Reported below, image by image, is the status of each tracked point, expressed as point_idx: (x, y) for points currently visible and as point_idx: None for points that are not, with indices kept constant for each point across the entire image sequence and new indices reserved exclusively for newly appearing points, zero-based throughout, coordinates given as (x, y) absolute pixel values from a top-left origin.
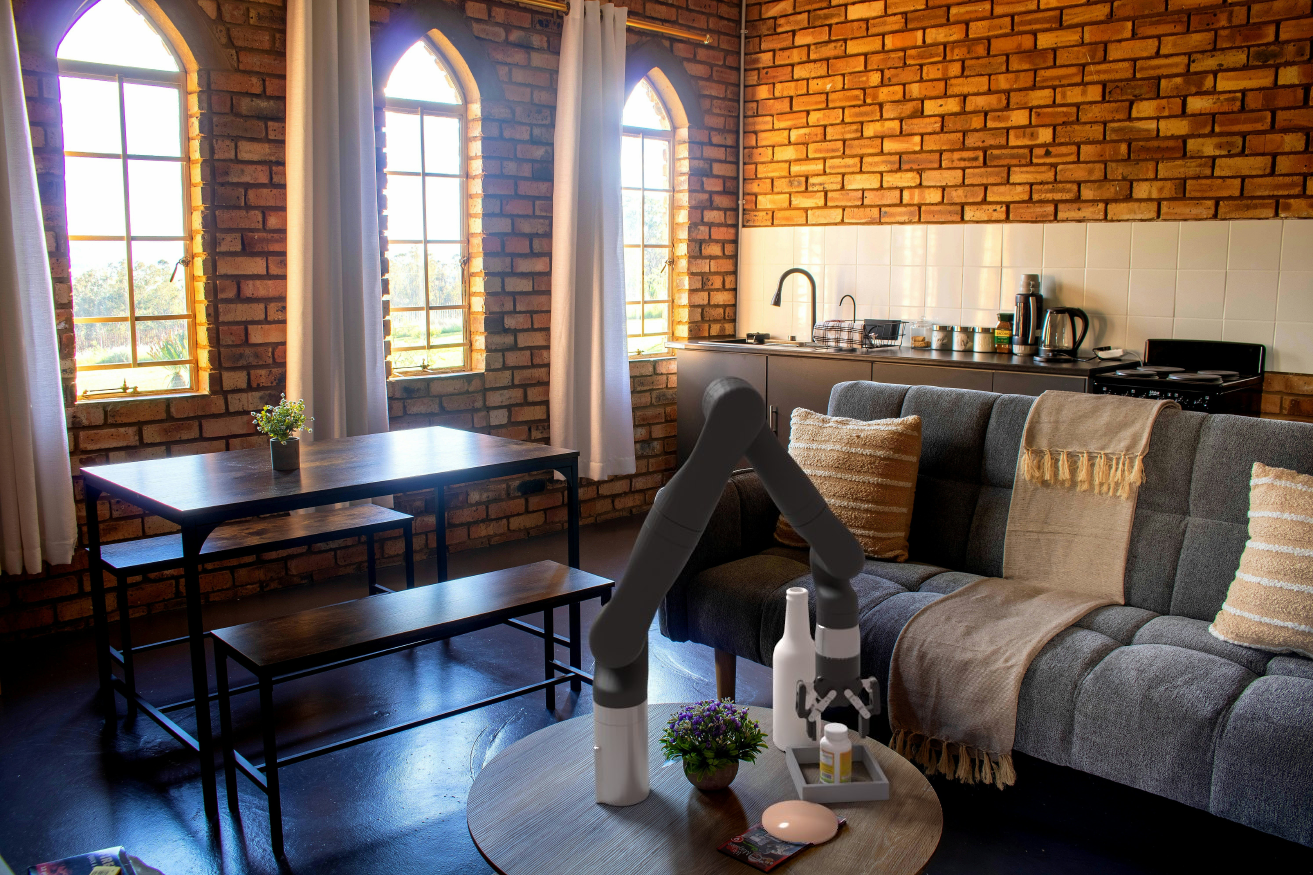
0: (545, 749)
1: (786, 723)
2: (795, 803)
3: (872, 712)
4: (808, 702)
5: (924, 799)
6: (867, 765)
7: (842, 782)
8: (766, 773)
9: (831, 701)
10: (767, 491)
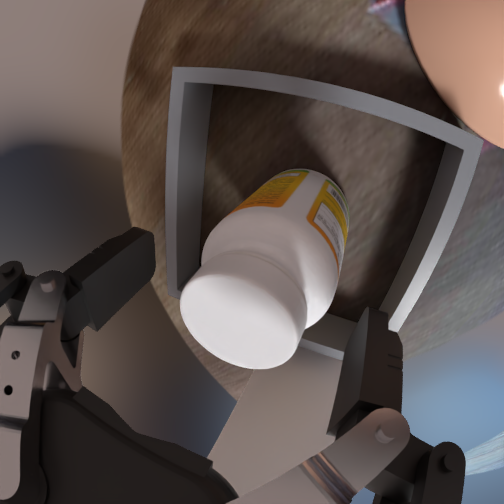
0: None
1: None
2: (495, 123)
3: (30, 284)
4: (260, 458)
5: (131, 64)
6: (195, 232)
7: (299, 169)
8: (448, 314)
9: (176, 499)
10: None
